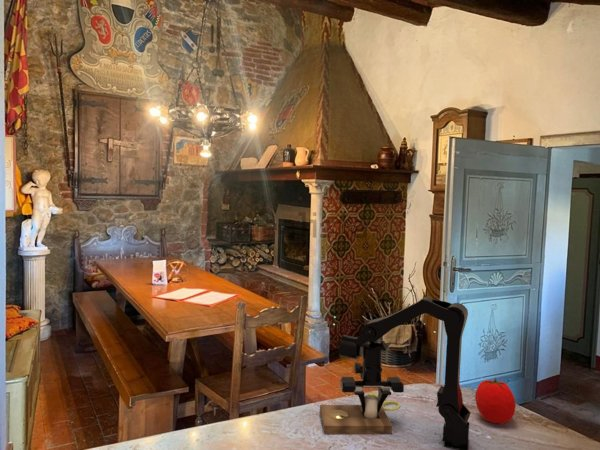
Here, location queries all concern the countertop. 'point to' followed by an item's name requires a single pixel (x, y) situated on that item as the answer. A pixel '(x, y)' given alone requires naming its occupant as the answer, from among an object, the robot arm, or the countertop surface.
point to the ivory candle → (371, 407)
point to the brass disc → (338, 414)
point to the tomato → (495, 401)
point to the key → (387, 403)
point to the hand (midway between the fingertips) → (370, 411)
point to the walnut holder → (354, 421)
